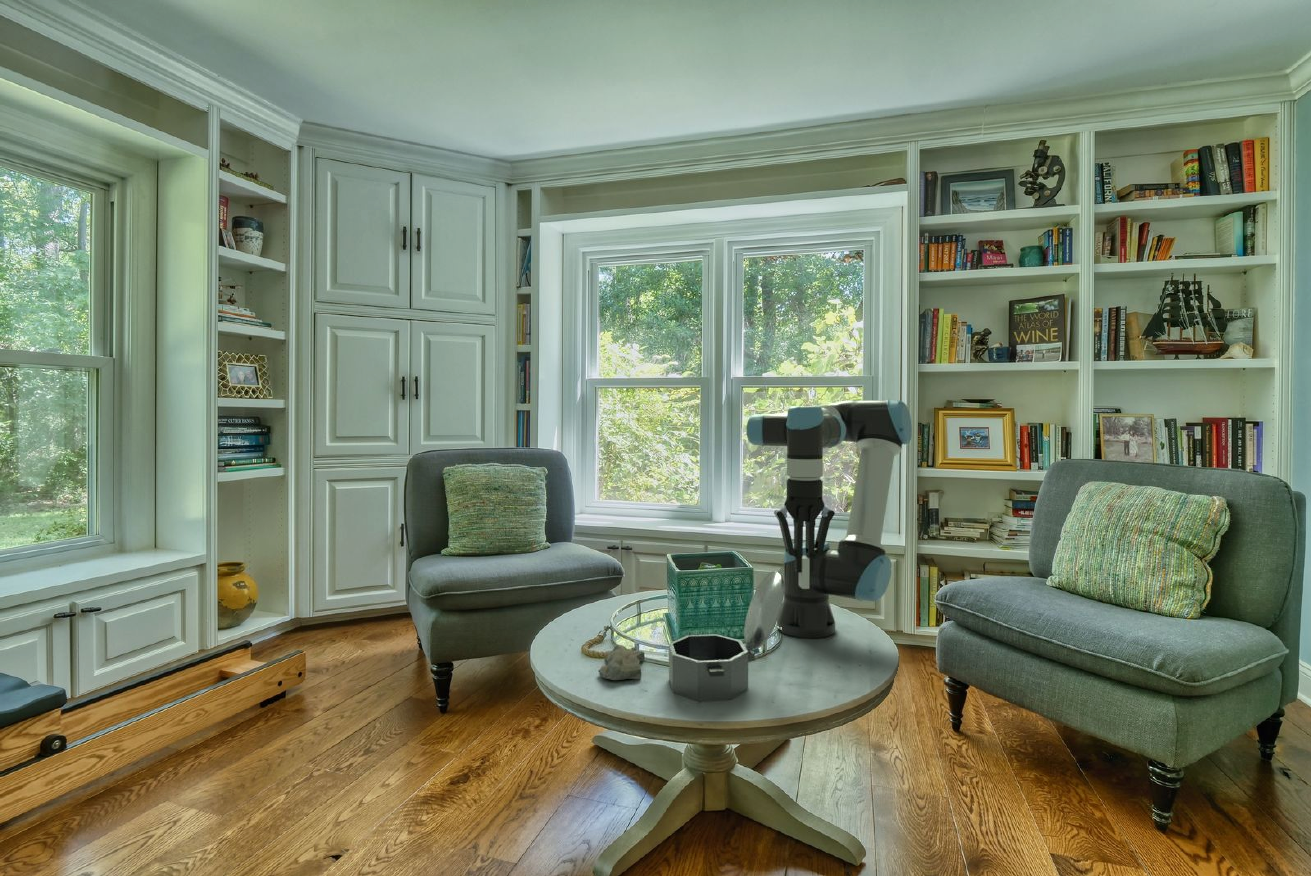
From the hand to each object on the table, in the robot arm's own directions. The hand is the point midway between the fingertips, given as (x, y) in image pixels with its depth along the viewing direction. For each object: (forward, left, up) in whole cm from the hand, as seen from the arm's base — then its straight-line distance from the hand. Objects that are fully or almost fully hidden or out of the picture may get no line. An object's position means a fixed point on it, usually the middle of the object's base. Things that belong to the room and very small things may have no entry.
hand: (803, 586), depth 146 cm
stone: (+39, -10, -21) cm, 45 cm away
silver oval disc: (+9, 0, -5) cm, 10 cm away
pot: (+21, 0, -20) cm, 29 cm away
